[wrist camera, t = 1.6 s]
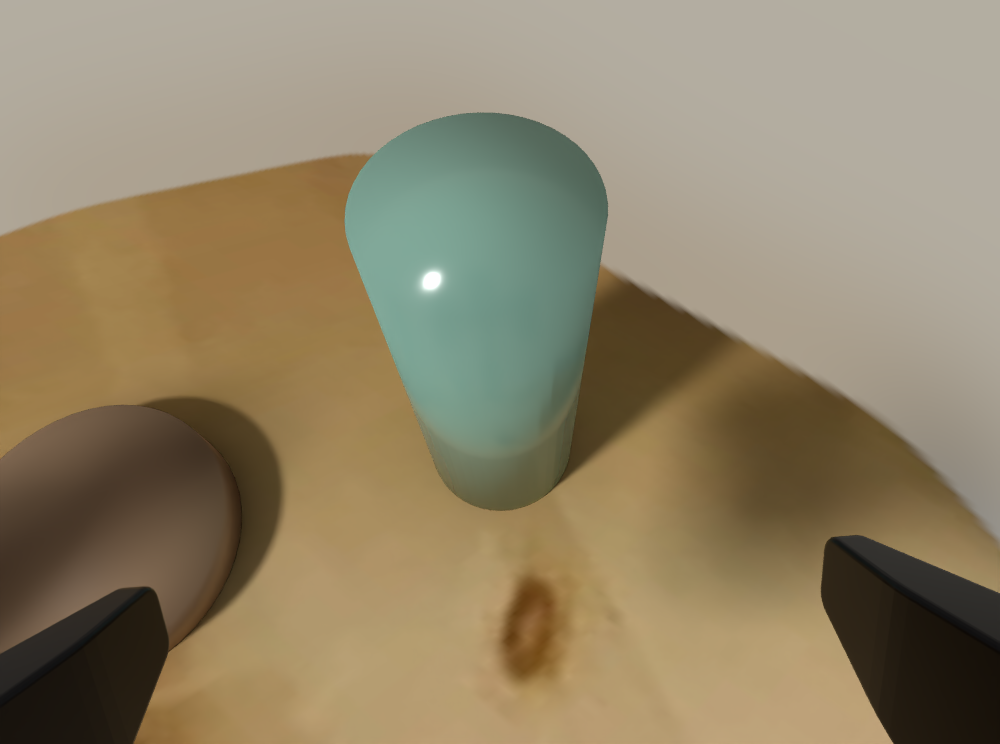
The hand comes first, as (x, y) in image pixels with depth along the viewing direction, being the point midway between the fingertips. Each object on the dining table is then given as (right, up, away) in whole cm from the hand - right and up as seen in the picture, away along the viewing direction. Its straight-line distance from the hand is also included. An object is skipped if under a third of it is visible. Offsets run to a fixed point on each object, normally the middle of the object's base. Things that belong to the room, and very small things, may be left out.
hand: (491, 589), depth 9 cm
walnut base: (-13, -3, +14) cm, 19 cm away
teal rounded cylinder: (0, 0, +15) cm, 15 cm away
